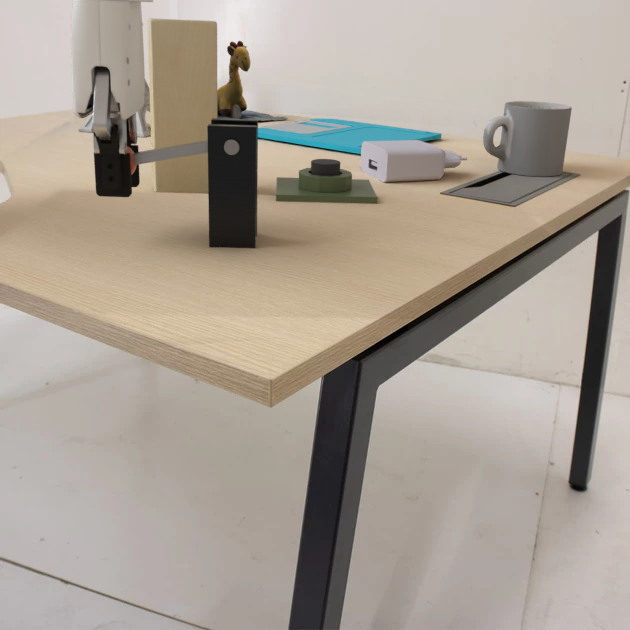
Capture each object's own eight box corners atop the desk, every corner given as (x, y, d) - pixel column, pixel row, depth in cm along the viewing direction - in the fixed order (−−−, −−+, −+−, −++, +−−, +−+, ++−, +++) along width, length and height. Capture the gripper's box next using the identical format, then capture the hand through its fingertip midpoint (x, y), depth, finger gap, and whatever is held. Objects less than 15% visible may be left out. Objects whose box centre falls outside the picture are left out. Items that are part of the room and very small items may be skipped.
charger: (478, 180, 117) (385, 184, 112) (447, 168, 125) (359, 171, 120) (481, 147, 115) (387, 150, 110) (450, 137, 123) (361, 139, 118)
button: (311, 178, 96) (311, 163, 96) (310, 172, 100) (310, 158, 99) (340, 179, 97) (341, 164, 96) (338, 173, 100) (339, 159, 99)
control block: (275, 212, 95) (276, 179, 93) (276, 193, 104) (276, 163, 102) (376, 215, 95) (378, 182, 94) (367, 196, 104) (369, 165, 103)
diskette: (365, 155, 132) (366, 149, 131) (239, 135, 147) (239, 129, 147) (442, 138, 151) (442, 133, 151) (323, 122, 167) (324, 117, 166)
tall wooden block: (211, 183, 109) (208, 19, 101) (219, 195, 102) (217, 21, 94) (151, 184, 107) (144, 17, 99) (156, 197, 100) (149, 19, 92)
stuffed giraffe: (226, 124, 159) (227, 39, 154) (177, 116, 171) (175, 38, 166) (287, 121, 169) (290, 42, 164) (236, 114, 182) (237, 40, 177)
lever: (101, 186, 74) (92, 149, 73) (109, 178, 77) (100, 143, 76) (251, 160, 74) (243, 123, 72) (252, 154, 77) (245, 118, 76)
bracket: (166, 267, 74) (161, 127, 69) (178, 240, 82) (174, 114, 78) (295, 269, 75) (298, 131, 70) (294, 242, 83) (297, 117, 78)
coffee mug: (548, 164, 130) (557, 101, 127) (572, 177, 121) (582, 109, 118) (469, 163, 129) (475, 99, 126) (486, 175, 120) (494, 107, 116)
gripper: (86, -18, 77) (97, 172, 83) (37, -22, 61) (55, 211, 68) (165, -14, 77) (169, 174, 84) (135, -17, 62) (144, 214, 68)
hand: (118, 189), depth 76 cm, fingers closed on lever, 3 cm apart
